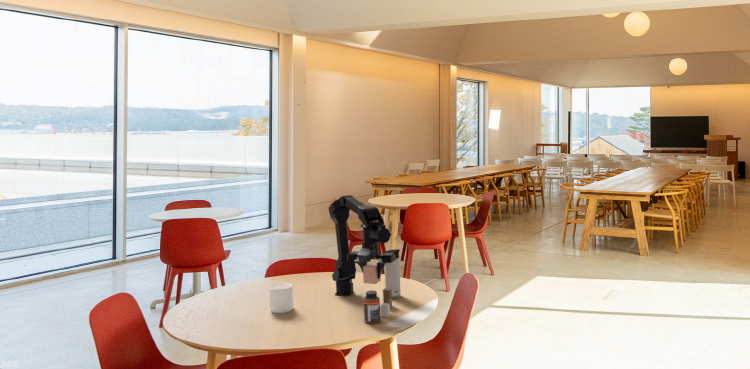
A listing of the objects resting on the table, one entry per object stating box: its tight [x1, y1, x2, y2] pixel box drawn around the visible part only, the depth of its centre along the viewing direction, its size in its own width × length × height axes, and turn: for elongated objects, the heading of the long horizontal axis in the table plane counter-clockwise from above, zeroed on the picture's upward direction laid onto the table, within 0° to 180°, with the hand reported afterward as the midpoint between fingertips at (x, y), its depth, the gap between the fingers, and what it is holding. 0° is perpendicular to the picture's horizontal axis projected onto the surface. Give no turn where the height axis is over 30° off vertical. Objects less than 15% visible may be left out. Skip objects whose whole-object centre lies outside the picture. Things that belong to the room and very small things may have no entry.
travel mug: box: [383, 248, 401, 300], centre depth 242 cm, size 6×7×20 cm
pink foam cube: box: [362, 263, 382, 285], centre depth 228 cm, size 5×5×7 cm
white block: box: [380, 303, 391, 318], centre depth 219 cm, size 3×3×4 cm
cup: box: [268, 282, 294, 314], centre depth 231 cm, size 10×10×10 cm
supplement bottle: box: [363, 289, 381, 325], centre depth 213 cm, size 6×6×11 cm
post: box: [382, 288, 393, 308], centre depth 230 cm, size 3×3×7 cm
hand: (372, 278), depth 228 cm, fingers closed on pink foam cube, 5 cm apart
